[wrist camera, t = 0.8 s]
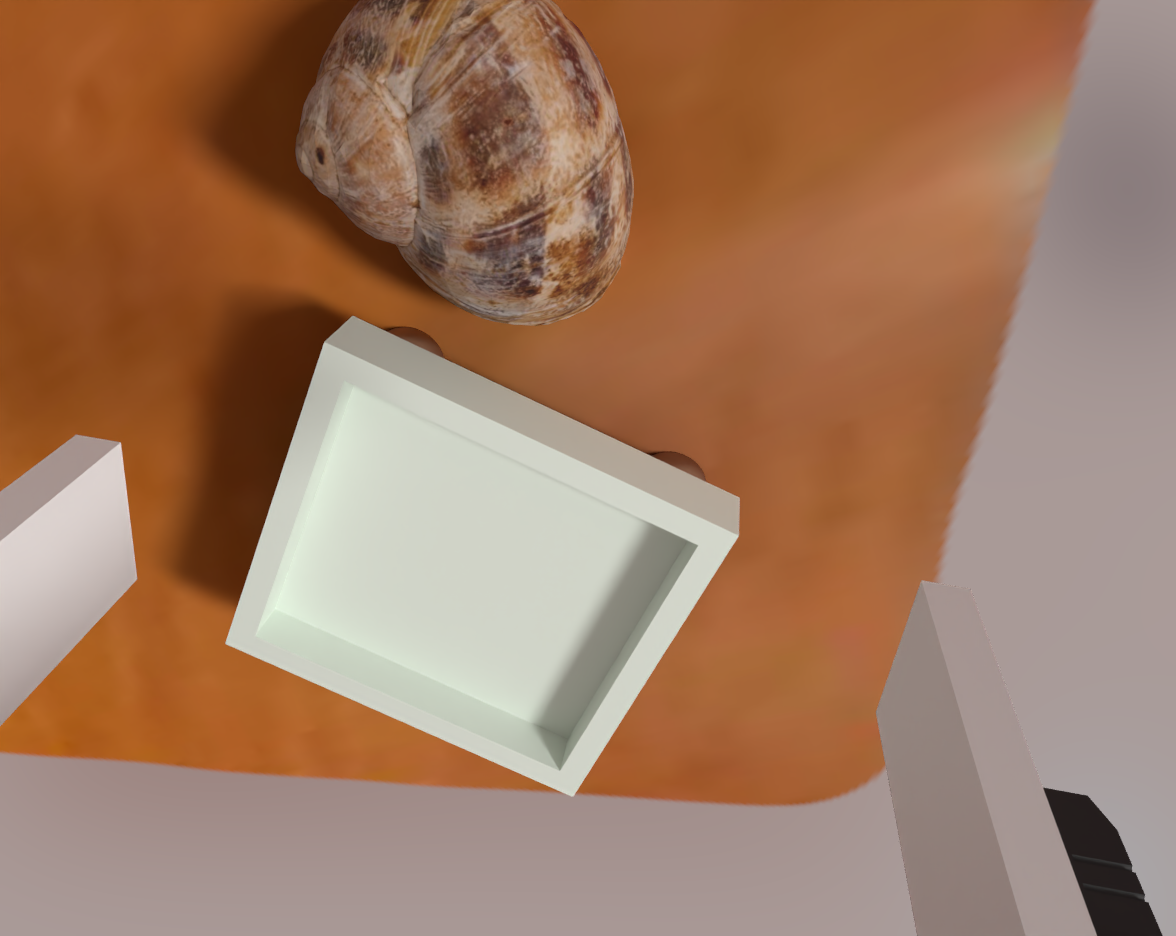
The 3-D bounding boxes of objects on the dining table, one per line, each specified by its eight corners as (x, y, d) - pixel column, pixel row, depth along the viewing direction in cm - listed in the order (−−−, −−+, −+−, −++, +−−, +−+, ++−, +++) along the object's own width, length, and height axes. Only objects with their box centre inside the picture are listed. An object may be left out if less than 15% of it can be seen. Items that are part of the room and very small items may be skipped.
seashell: (308, 265, 36) (214, 172, 26) (399, 35, 36) (341, -146, 26) (582, 369, 36) (594, 317, 26) (669, 139, 36) (714, 0, 26)
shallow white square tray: (279, 571, 43) (225, 643, 39) (376, 293, 37) (324, 342, 32) (591, 711, 44) (572, 797, 40) (740, 465, 38) (738, 535, 33)
